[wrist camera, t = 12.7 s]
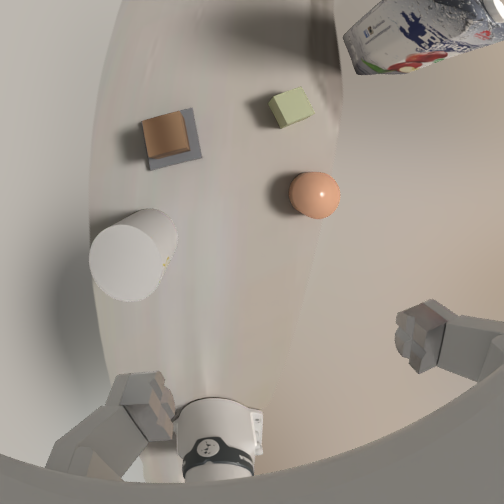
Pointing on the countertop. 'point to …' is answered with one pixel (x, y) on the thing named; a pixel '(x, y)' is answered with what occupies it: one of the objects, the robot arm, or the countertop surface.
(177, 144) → the walnut block
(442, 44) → the juice carton
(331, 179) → the peach glossy ball
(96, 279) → the cup
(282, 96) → the olive block
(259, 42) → the countertop surface
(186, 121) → the slate coaster
